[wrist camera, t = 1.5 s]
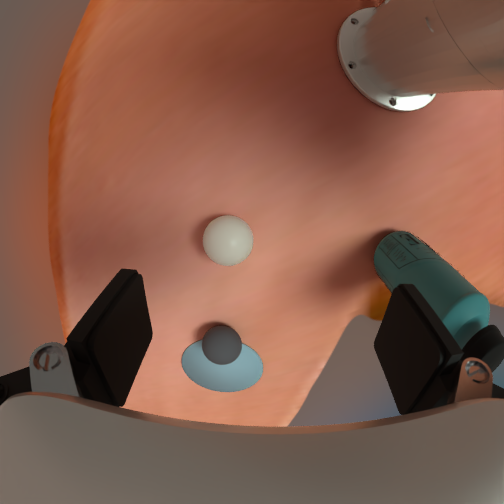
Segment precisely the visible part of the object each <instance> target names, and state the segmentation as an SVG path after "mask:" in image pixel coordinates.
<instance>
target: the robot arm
mask: <svg viewBox="0 0 504 504" xmlns="http://www.w3.org/2000/svg"><path fill="white" fill-rule="evenodd" d="M352 23H353V24H352ZM337 51H338V57H339V60H340V63H341V66H342V68H343V70H344V71H345V73H346V75H347V77H348V78H349V80H350V81H351V82H352V84H353V85H354V86H355V87H356V88H357V89H358V90H359V91H360V92H361V93H362V94H363V95H364V96H365V97H367V98H368V99H369V100H370V101H372V102H374V103H376V104H377V105H379V106H381V107H384V108H387V109H389V110H394V111H400V112H401V111H414V110H418V109H420V108H423V107H425V106H426V105H427V104H429V103H430V102H431V101H432V100H433V99H434V97H435V96H436V94H438V93H449V92H462V91H482V90H504V0H386V1H384V2H383V3H382V4H381V5H380V6H379V7H370V8H364V9H361V10H358V11H356V12H354V13H353V14H351V15H350V16H349V17H348V18H347V19H346V20H345V21H344V23H343V24H342V26H341V28H340V30H339V33H338V36H337ZM348 65H350V66H351V67H352V69H351V68H350V67H349V66H348ZM389 101H390V102H391V104H390V103H389ZM152 334H153V333H152V326H151V322H150V317H149V312H148V306H147V301H146V296H145V290H144V284H143V278H142V275H141V274H138V272H137V270H131V269H121V270H120V271H119V272H118V273H117V274H116V276H115V277H114V278H113V279H112V280H111V282H110V283H109V284H108V285H107V286H106V288H105V289H104V290H103V291H102V293H101V294H100V295H99V296H98V298H97V299H96V300H95V301H94V303H93V304H92V305H91V306H90V308H89V309H88V310H87V312H86V313H85V314H84V316H83V317H82V318H81V320H80V321H79V322H78V324H77V325H76V326H75V328H74V329H73V330H72V332H71V333H70V334H69V336H68V337H67V343H66V344H65V346H63V345H62V344H60V343H57V342H51V343H45V344H43V345H41V346H39V347H38V348H36V349H35V350H34V352H33V353H32V355H31V357H30V361H29V367H27V368H24V369H21V370H18V371H15V372H13V373H10V374H7V375H4V376H1V377H0V504H504V389H503V388H501V387H499V386H497V385H495V384H493V375H492V372H491V369H490V368H489V367H488V365H487V364H486V363H485V362H483V361H482V360H480V359H477V358H467V359H465V360H464V361H463V363H462V361H461V360H460V359H461V357H462V356H463V354H464V353H463V351H462V350H461V348H460V347H459V345H458V344H457V342H456V341H455V339H454V338H453V336H452V335H451V333H450V332H449V330H448V329H447V328H446V326H445V325H444V323H443V322H442V321H441V319H440V318H439V317H438V315H437V314H436V313H435V311H434V310H433V309H432V307H431V306H430V305H429V303H428V302H427V301H426V299H425V298H424V297H423V295H422V294H421V293H420V292H419V290H418V289H417V288H416V287H415V285H413V284H399V285H398V286H397V287H396V288H394V289H393V292H392V295H391V298H390V301H389V304H388V307H387V309H386V312H385V315H384V318H383V320H382V323H381V326H380V328H379V331H378V333H377V336H376V338H375V341H374V348H375V351H376V354H377V356H378V359H379V361H380V363H381V366H382V368H383V371H384V374H385V376H386V379H387V381H388V384H389V387H390V389H391V392H392V394H393V397H394V400H395V403H396V405H397V408H398V411H399V413H400V414H401V415H400V416H395V417H389V418H383V419H377V420H371V421H363V422H355V423H345V424H334V425H321V426H298V427H262V426H240V425H226V424H214V423H205V422H197V421H189V420H182V419H176V418H170V417H164V416H158V415H153V414H148V413H143V412H138V411H134V410H129V409H125V408H120V406H121V407H122V406H123V405H124V404H125V402H126V399H127V397H128V394H129V392H130V389H131V387H132V384H133V382H134V379H135V377H136V375H137V372H138V370H139V367H140V365H141V363H142V360H143V358H144V356H145V353H146V351H147V349H148V347H149V344H150V342H151V340H152Z"/></svg>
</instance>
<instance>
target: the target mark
mask: <svg viewBox="0 0 504 504" xmlns="http://www.w3.org/2000/svg"><path fill="white" fill-rule="evenodd" d="M182 367H183V369H184V371H185V373H186V374H187V376H188V377H189V378H190V379H191V380H192V381H194V382H195V383H197V384H198V385H200V386H202V387H204V388H207V389H210V390H214V391H220V392H235V391H240V390H244V389H246V388H249V387H251V386H252V385H254V384H255V383H256V382H257V381H258V380H259V379H260V377H261V375H262V373H263V363H262V360H261V358H260V357H259V355H258V354H257V353H256V352H255V351H254V350H253V349H252V348H250V347H249V346H247V345H245V344H243V343H242V350H241V353H240V355H239V357H238V358H237V359H236V360H235V361H233V362H232V363H230V364H226V365H218V364H215V363H213V362H211V361H209V360H208V359H207V358H206V356H205V355H204V353H203V350H202V340H200V341H197V342H195V343H193V344H192V345H190V346H189V347H188V348H187V349H186V350H185V352H184V354H183V356H182Z"/></svg>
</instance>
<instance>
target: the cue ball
mask: <svg viewBox="0 0 504 504" xmlns="http://www.w3.org/2000/svg"><path fill="white" fill-rule="evenodd" d="M203 247H204V250H205V252H206V254H207V255H208V257H209V258H210V259H211V260H212V261H214V262H215V263H217V264H220V265H223V266H233V265H236V264H239V263H241V262H242V261H244V260H245V259H246V258H247V257H248V256H249V254H250V252H251V250H252V248H253V234H252V231H251V229H250V227H249V225H248V224H247V223H246V222H245V221H244V220H242V219H241V218H239V217H236V216H232V215H224V216H220V217H217V218H216V219H214V220H213V221H211V222H210V223H209V224H208V226H207V227H206V229H205V231H204V234H203Z"/></svg>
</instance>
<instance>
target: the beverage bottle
mask: <svg viewBox="0 0 504 504" xmlns="http://www.w3.org/2000/svg"><path fill="white" fill-rule="evenodd" d="M417 238H418V237H417ZM417 238H416V237H415V236H414V235H412V234H411V233H409V232H405V231H396V232H393V233H390V234H389V235H387V236H386V237H384V238H383V239H382V240H381V242H380V243H379V244H378V246H377V248H376V251H375V254H374V265H375V268H374V269H376V271H377V273H378V277H379V276H380V277H381V278H380V279H382V281H384V283H385V284H384V285H385V286H387V288H388V289H389V290H390V291H391V293H392V292H393V289H394V288H396V287H397V286H398V285H399V284H413V285H415V287H416V288H417V289H418V290H419V292H420V293H421V294H422V295H423V297H424V298H425V299H426V301H427V302H428V303H429V305H430V306H431V307H432V309H433V310H434V311H435V313H436V314H437V315H438V317H439V318H440V319H441V321H442V322H443V323H444V325H445V326H446V328H447V329H448V330H449V332H450V333H451V335H452V336H453V338H454V339H455V341H456V342H457V344H458V345H459V347H460V348H461V350H462V351H463V353H464V354H463V356H462V357H461V359H460V360H461V361H462V363H463V361H464V360H465V359H467V358H477V359H480V360H482V361H483V362H485V363H486V364H487V365H488V367H489V368H490V369H491V372H493V371H494V370H495V369H496V368H497V367H498V366H499V364H500V363H501V362H502V360H503V359H504V337H503V336H502V335H501V333H500V331H499V329H498V328H497V327H496V326H495V325H488V322H489V314H490V305H489V302H488V299H487V298H486V297H485V296H484V295H483V294H482V293H480V292H479V291H478V290H477V289H476V288H475V287H474V286H473V285H471V284H470V283H469V282H468V281H467V280H466V279H465V277H463V276H461V275H460V274H459V273H458V271H456V270H455V269H454V268H453V267H452V266H451V265H450V264H448V263H447V262H446V261H445V260H444V259H442V258H441V257H440V256H439V255H440V254H439V255H438V253H437V254H436V252H435V251H434V250H433V249H431V248H430V247H429V245H427V244H426V243H425V242H424V241H423V242H424V243H425V244H426V245H425V244H424V243H423V242H421V241H422V240H421V239H420V238H419V239H420V240H421V241H420V240H419V239H417Z"/></svg>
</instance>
